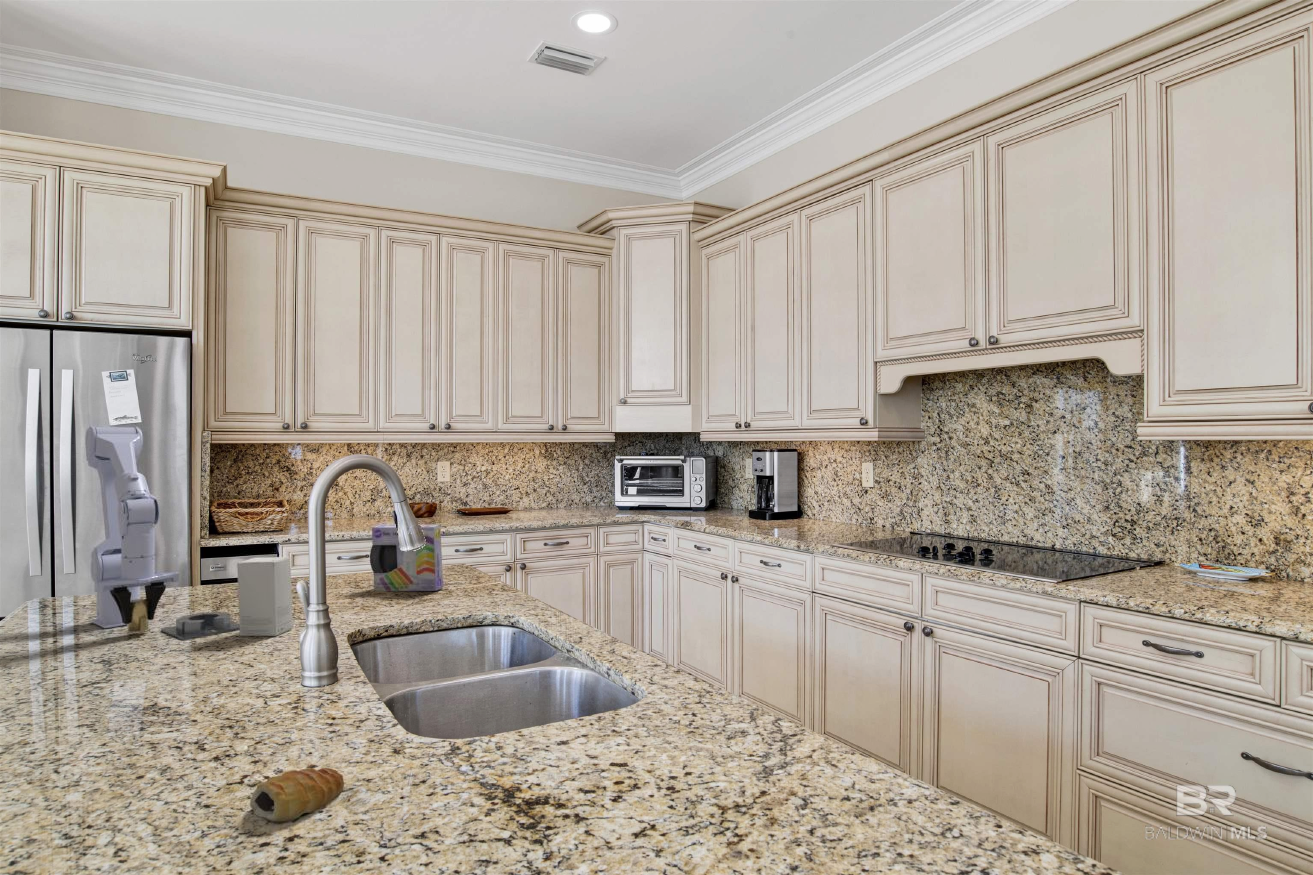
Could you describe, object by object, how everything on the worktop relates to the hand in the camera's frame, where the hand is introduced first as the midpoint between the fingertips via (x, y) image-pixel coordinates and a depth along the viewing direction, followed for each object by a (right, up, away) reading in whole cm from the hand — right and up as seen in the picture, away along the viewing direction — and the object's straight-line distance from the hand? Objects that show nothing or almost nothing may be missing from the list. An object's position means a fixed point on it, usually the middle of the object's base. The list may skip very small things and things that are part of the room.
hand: (138, 621), depth 154 cm
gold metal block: (0, -2, 0) cm, 2 cm away
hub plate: (+11, -3, +4) cm, 12 cm away
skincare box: (+26, -3, +1) cm, 26 cm away
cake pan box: (+41, -3, +46) cm, 61 cm away
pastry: (+68, -3, -72) cm, 99 cm away
